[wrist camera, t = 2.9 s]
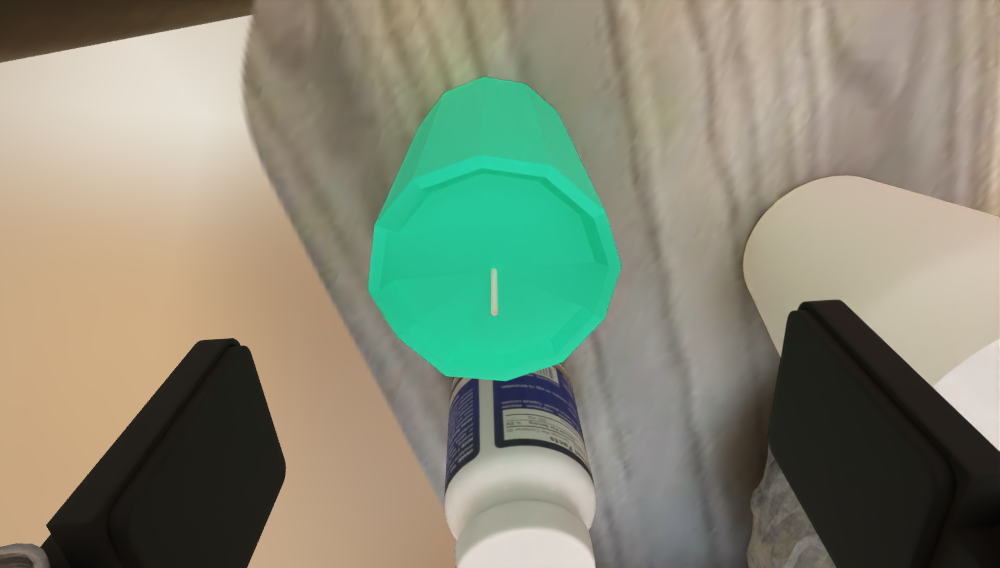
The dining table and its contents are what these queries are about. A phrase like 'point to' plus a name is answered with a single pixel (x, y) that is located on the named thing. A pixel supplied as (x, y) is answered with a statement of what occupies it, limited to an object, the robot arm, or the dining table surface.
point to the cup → (891, 279)
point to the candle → (493, 238)
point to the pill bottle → (518, 474)
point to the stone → (782, 527)
